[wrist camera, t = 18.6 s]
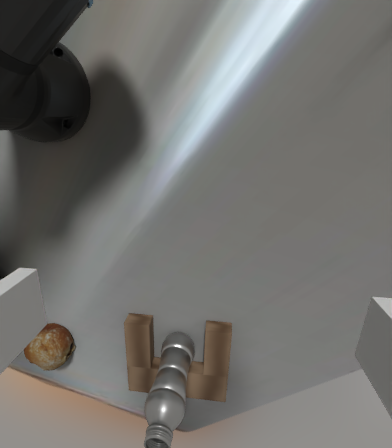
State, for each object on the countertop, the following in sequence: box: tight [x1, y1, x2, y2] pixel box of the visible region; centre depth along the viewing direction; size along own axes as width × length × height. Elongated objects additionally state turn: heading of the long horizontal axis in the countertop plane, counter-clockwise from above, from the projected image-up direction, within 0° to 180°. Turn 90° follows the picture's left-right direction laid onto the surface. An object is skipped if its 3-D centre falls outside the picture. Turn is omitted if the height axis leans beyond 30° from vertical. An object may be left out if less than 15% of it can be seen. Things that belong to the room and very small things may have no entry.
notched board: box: [124, 313, 232, 402], centre depth 55 cm, size 21×18×3 cm
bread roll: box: [24, 323, 76, 370], centre depth 57 cm, size 10×10×8 cm
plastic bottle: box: [144, 332, 194, 448], centre depth 46 cm, size 6×7×20 cm
